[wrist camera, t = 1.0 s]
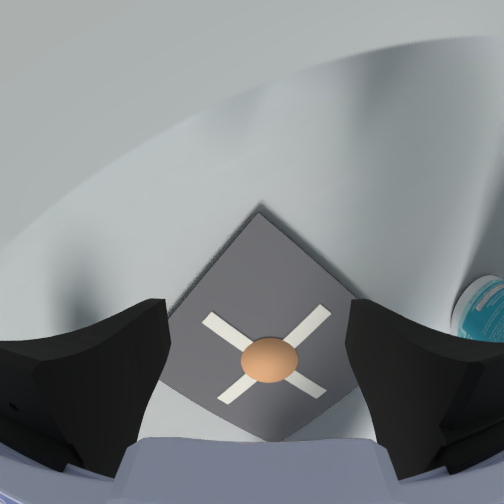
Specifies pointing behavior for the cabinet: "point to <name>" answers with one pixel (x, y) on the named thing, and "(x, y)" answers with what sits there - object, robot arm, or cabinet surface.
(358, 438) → the robot arm
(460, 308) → the pill bottle
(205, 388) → the rest pad
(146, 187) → the cabinet surface
